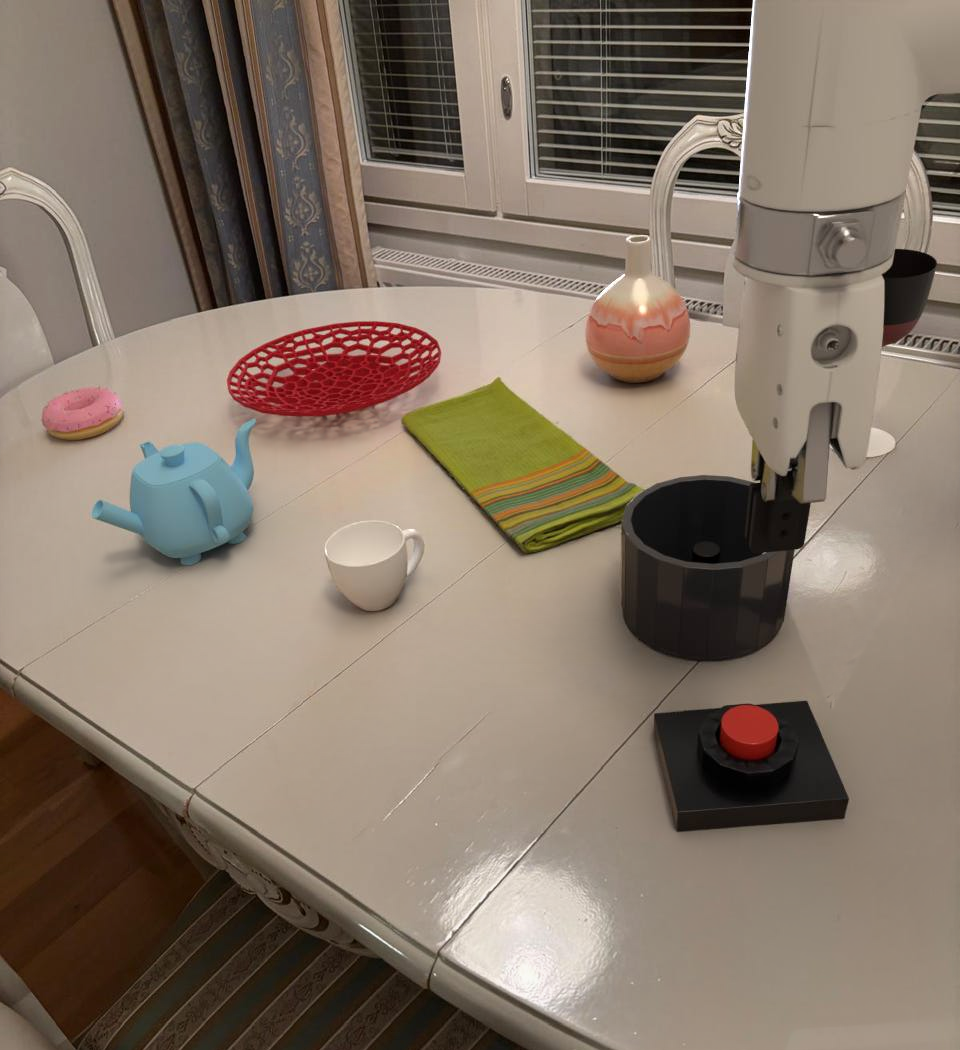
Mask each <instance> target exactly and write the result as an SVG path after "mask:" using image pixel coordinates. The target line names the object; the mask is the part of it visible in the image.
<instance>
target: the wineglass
mask: <svg viewBox="0 0 960 1050" xmlns="http://www.w3.org/2000/svg"><path fill="white" fill-rule="evenodd" d="M937 265H938V261H937V259H936V258H935V257H934V256H933V255H931V254H928V253H927V252H923V251H919V250H913V249H907V248H895V251H894V258H893V263H892V265H891V267H890V268H889V269H888V270H887V271H886V272H885V273H883V274H881V275H882V277H883V279H884V324H883V339H882V348H884V347H886V346H889V345H893V344H895V343H896V342H898V341H900V340H903V339H904V338H905V337H907V335H909V334H910V333H911V332H912V331H913V330H914V328H915V327H916V326H917V324H918V322H919V321H920V319H921V317H922V315H923V313H924V310H925V308H926V306H927V302H928V299H929V296H930V293H931V289H932V286H933V282H934V278H935V274H936V269H937ZM896 443H897V442H896V440H895V438H894V437H893V436H892V435H891V434H890V433H889V432H887V431H885V430H883V429H881V428H877V427H873V426H872V427H871V433H870V440H869V446H868V451H867V456H866V458H874V457H879V456H884V455H886V454H888V453H890V452H891V451H893V450H894V449H895V447H896ZM829 449H831V450H833V448H832V446H831V445H830V448H829Z"/></svg>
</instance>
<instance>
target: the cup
mask: <svg viewBox="0 0 960 1050" xmlns="http://www.w3.org/2000/svg"><path fill="white" fill-rule="evenodd" d="M411 539H412V540H413V544H414V546H413V550H412V553H411V555H410V558H409V554H408V547H407V541H409V540H411ZM323 546H324V547H323V553H324V556H325V560H326V565H327V567H328V571H329V573H330V576H331V578H332V581H333V582H334V584H335V586H336V587H337V588H338V590H339V591H340V593H341V594H342V595H343V596H344V598H346V599H347V600H348V601H349V602H351V604H354V606H356V607H357V608H359V609H361V610H362V611H366V612H378V611H382V610H385V609H387V608H389V607H390V606H392V605H393V604H394V603H395V602H396V600H398V597H399V596H400V594H401V592H402V590H403V588H404V585H405V582H406V579H408V578H409V577H410V576H411V575H412V574H413V573H414V571H415V570H416V569H417V568H418V566H419V564H420V562H421V560H422V559H423V555H424V552H425V541H424V539H423V536H422V535H421V533H420V532H419V531H417V530H416V529H414V528H406V529H403V530H402V528H400V527H399V526H398V525H396V524H394V523H392V522H389V521H385V520H377V519H376V520H375V519H374V520H371V519H369V520H362V521H357V522H353V523H350V524H347V525H345V526H343V527H341V528H339V529H337V530H335V532H333V533H332V534H331V535H330V536H329V537H328V538H327V540H326V541H325V543H324V545H323Z"/></svg>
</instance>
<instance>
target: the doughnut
mask: <svg viewBox="0 0 960 1050" xmlns="http://www.w3.org/2000/svg"><path fill="white" fill-rule="evenodd" d="M123 413H124V409H123V402H122V400H121V398H120V397H119V396H118V395H117V392H114V391H112V390H111V389H108V388H104V387H101V386H98V387H97V386H96V387H95V386H94V387H90V386H89V387H83V388H77V389H74V390H69V391H65V392H64V393H62V394H60V395H59V396H57V397H54V398H53V399H51V400H50V401H47V404H46V405H45V406H44V407H43V408H42V412H41V419H40V421H41V424H42V426H43V427H44V428H45V429H46V431H47V433H48V434H50V435H52V436H53V437H55V438H58V439H61V440H68V441H71V440H72V441H75V440H77V441H78V440H84V439H89V438H93V437H96V436H98V435H101V434H103V433H105V432H107V431H109V430H111V429H113V427H115V426H117V424H118V423H119V422H120V420H121V419H122V417H123Z"/></svg>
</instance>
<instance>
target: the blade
mask: <svg viewBox="0 0 960 1050" xmlns="http://www.w3.org/2000/svg"><path fill="white" fill-rule="evenodd" d="M719 561H720V547H719V546H718V545H717V544H716V543H713V542H709V541H703V542H699V543H696V544H695V545H694V546H693V549H692V562H696V563H708V564H718V563H719Z"/></svg>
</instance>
